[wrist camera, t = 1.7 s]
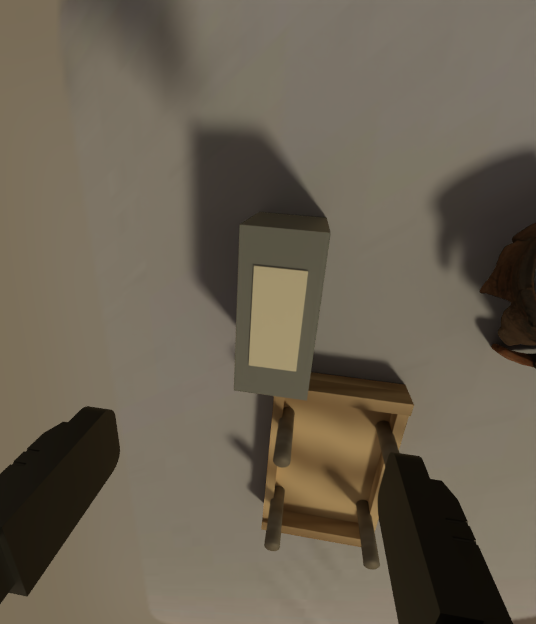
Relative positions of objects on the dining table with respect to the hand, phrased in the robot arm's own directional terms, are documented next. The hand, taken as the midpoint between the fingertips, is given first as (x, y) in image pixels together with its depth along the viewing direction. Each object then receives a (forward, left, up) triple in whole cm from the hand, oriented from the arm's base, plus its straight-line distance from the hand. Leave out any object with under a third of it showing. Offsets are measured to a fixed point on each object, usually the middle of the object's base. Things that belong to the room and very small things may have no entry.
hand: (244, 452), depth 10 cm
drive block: (0, 0, -16) cm, 16 cm away
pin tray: (+15, +5, -16) cm, 22 cm away
